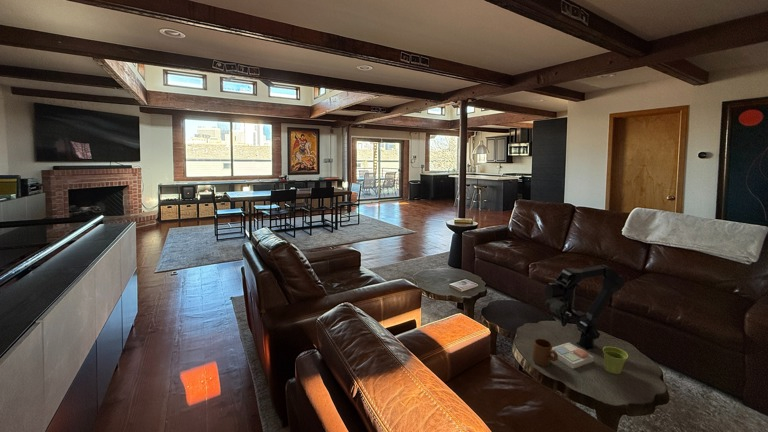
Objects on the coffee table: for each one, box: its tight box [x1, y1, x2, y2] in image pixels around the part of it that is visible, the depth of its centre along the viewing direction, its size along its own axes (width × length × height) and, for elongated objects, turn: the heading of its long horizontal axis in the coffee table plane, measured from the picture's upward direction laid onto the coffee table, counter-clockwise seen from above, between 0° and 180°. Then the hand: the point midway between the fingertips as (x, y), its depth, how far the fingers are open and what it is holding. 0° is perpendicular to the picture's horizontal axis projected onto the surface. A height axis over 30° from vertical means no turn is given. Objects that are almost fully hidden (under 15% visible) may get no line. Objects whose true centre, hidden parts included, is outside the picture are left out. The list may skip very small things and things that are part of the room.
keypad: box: [551, 342, 594, 370], centre depth 169 cm, size 13×13×3 cm
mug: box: [532, 338, 558, 367], centre depth 163 cm, size 12×8×9 cm, turn 22°
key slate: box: [554, 347, 569, 355], centre depth 170 cm, size 4×4×2 cm
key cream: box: [563, 344, 577, 352], centre depth 172 cm, size 4×4×2 cm
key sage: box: [565, 353, 580, 362], centre depth 165 cm, size 4×4×2 cm
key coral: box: [573, 347, 590, 359], centre depth 167 cm, size 4×4×2 cm
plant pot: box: [602, 346, 629, 375], centre depth 159 cm, size 9×9×9 cm
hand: (563, 326), depth 173 cm, fingers closed
